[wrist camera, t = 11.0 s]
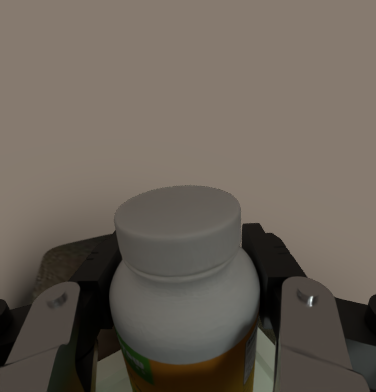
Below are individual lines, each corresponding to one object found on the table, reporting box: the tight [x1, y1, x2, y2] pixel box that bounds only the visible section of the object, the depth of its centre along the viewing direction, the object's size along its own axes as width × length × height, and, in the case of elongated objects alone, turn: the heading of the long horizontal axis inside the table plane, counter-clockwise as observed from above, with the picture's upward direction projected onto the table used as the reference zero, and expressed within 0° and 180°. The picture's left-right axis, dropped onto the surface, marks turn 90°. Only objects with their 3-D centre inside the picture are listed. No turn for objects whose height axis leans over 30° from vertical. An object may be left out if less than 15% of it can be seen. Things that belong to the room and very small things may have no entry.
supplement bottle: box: [109, 185, 260, 392], centre depth 8 cm, size 5×5×10 cm
